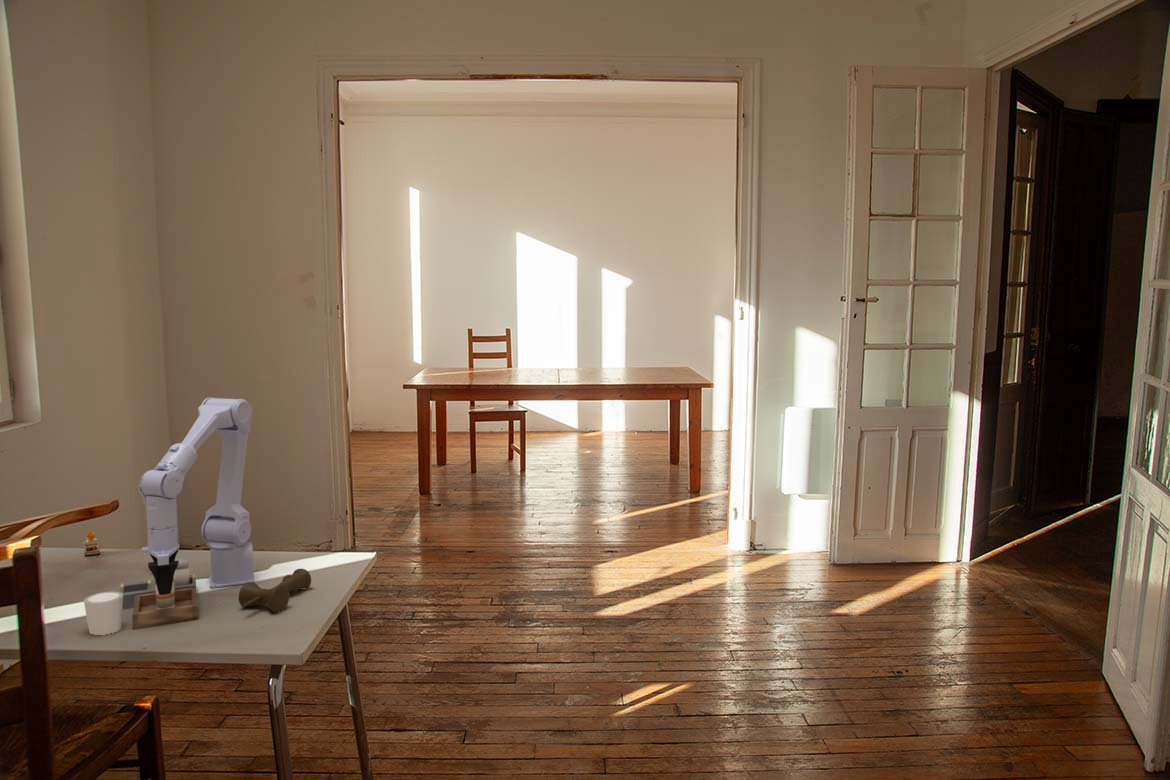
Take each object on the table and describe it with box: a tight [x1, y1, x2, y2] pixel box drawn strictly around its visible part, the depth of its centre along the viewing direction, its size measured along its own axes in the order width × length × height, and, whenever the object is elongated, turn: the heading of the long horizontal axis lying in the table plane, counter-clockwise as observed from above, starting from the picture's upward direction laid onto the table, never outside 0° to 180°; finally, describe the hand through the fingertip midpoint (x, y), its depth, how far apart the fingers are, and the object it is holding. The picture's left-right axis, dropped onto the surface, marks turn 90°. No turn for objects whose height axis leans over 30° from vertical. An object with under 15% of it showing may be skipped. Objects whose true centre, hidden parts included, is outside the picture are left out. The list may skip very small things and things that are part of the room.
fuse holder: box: [119, 573, 197, 610], centre depth 181 cm, size 15×8×4 cm, turn 117°
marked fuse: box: [155, 577, 175, 610], centre depth 171 cm, size 4×4×8 cm
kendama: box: [238, 568, 312, 613], centre depth 179 cm, size 6×10×20 cm
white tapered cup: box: [83, 590, 123, 636], centre depth 163 cm, size 7×7×7 cm
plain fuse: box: [174, 557, 191, 586], centre depth 182 cm, size 4×4×8 cm
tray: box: [132, 586, 199, 630], centre depth 172 cm, size 12×12×3 cm
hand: (165, 587), depth 171 cm, fingers open, 7 cm apart
